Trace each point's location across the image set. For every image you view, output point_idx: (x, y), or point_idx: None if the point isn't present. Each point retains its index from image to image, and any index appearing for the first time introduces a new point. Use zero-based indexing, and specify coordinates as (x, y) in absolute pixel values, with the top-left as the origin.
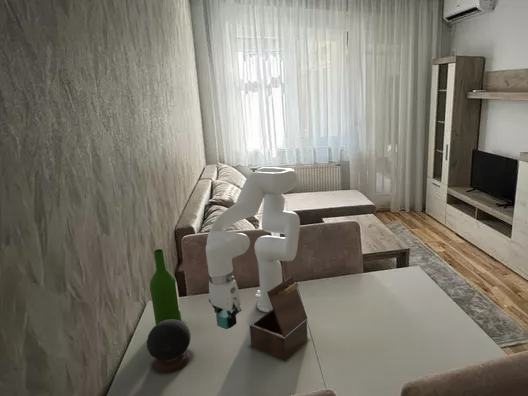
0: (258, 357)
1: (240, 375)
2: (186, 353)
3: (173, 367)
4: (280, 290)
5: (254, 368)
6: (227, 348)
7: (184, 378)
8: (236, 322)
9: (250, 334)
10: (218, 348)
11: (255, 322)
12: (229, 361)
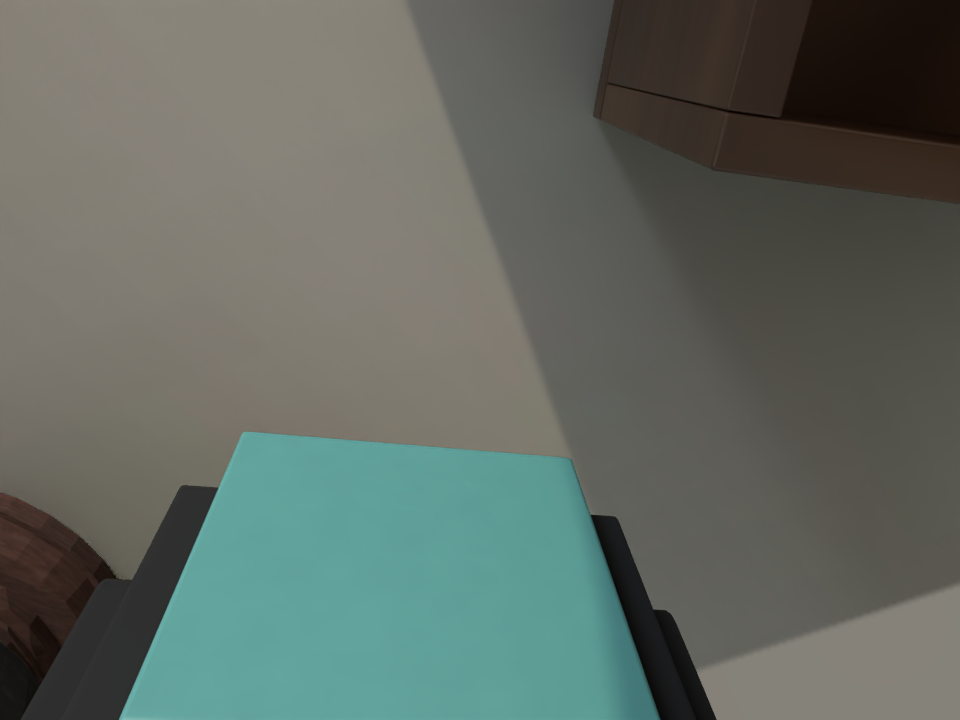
0: (784, 257)
1: (731, 525)
2: (17, 580)
3: None
4: None
5: (818, 410)
6: (326, 262)
7: None
8: (619, 527)
9: (653, 142)
10: (222, 303)
11: (799, 18)
12: (507, 424)
